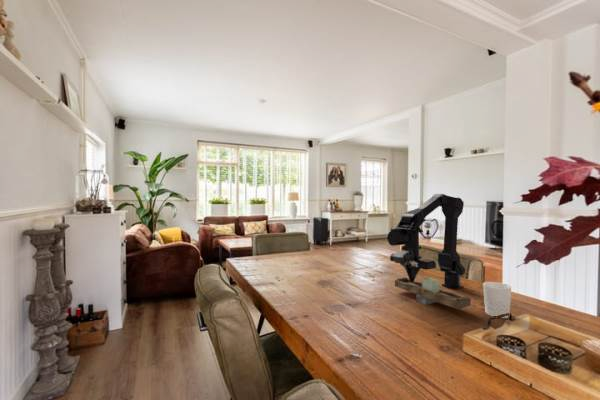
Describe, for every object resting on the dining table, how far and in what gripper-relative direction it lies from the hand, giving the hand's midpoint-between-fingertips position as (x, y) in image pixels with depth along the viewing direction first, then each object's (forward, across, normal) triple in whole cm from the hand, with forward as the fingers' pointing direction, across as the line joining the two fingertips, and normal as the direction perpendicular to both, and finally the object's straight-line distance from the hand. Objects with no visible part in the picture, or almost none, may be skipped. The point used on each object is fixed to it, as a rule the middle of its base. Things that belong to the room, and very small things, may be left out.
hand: (411, 281), depth 115 cm
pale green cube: (+1, +9, 0) cm, 9 cm away
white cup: (+6, +27, +10) cm, 29 cm away
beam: (+6, +8, 0) cm, 10 cm away
